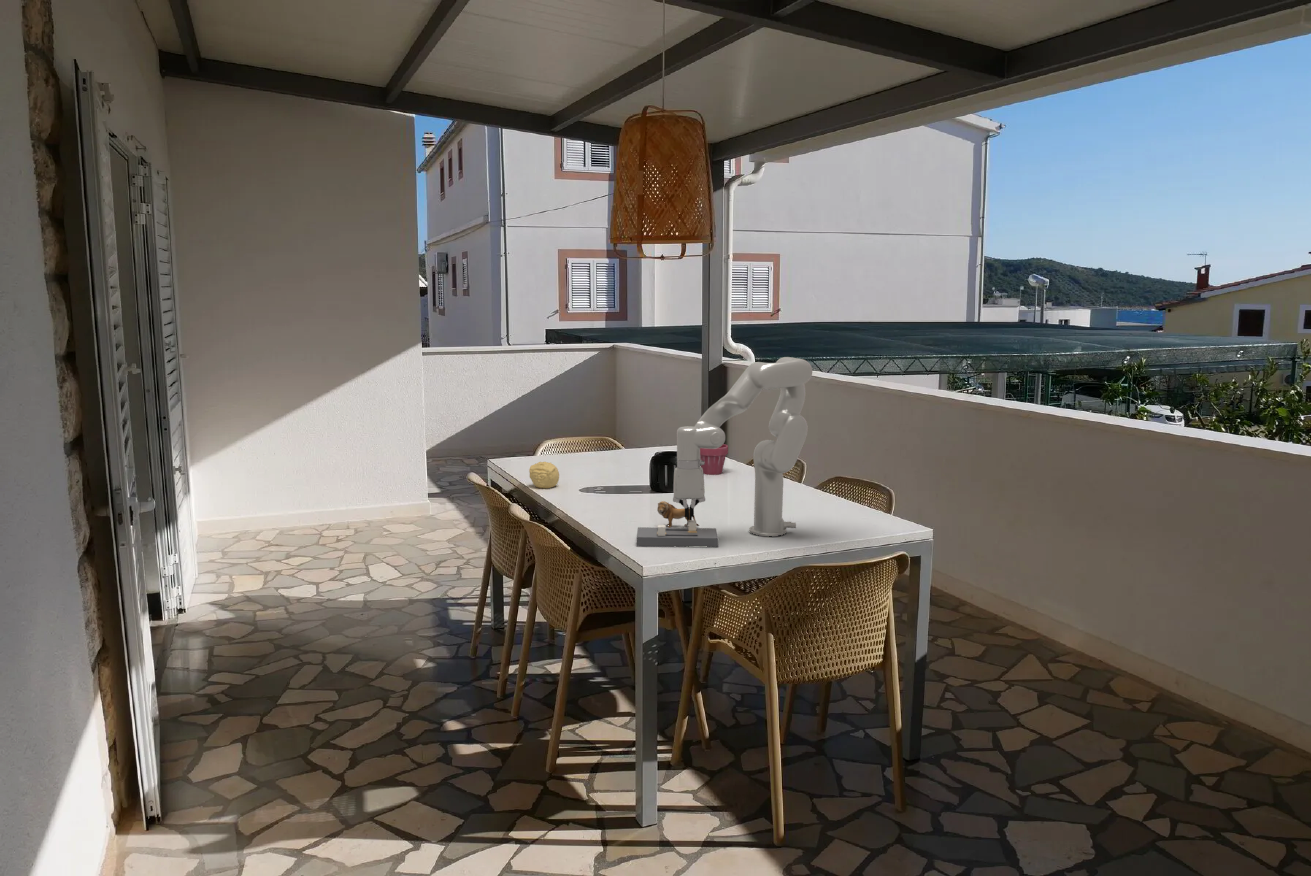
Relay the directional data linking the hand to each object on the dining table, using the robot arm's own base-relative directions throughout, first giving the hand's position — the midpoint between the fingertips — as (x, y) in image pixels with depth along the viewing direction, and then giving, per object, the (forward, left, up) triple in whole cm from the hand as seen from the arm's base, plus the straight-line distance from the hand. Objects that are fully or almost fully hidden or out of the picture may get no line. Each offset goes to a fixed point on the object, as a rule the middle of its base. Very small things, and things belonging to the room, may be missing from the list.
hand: (689, 519), depth 312 cm
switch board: (+4, +4, -7) cm, 9 cm away
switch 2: (-1, 0, -4) cm, 4 cm away
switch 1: (+9, +7, -4) cm, 12 cm away
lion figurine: (+4, -16, -7) cm, 18 cm away
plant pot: (-13, -117, -7) cm, 118 cm away
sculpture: (+58, -82, -7) cm, 100 cm away
